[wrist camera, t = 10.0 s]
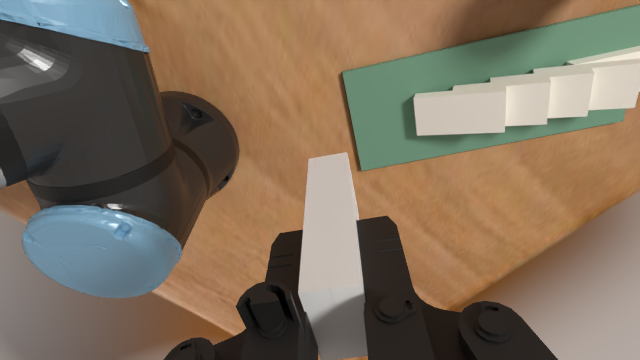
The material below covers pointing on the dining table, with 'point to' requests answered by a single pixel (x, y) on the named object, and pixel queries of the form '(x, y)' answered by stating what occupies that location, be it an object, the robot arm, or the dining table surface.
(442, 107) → the domino
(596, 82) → the domino
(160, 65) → the dining table surface
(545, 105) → the domino
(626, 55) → the domino
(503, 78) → the domino
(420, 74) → the felt mat
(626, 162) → the dining table surface
